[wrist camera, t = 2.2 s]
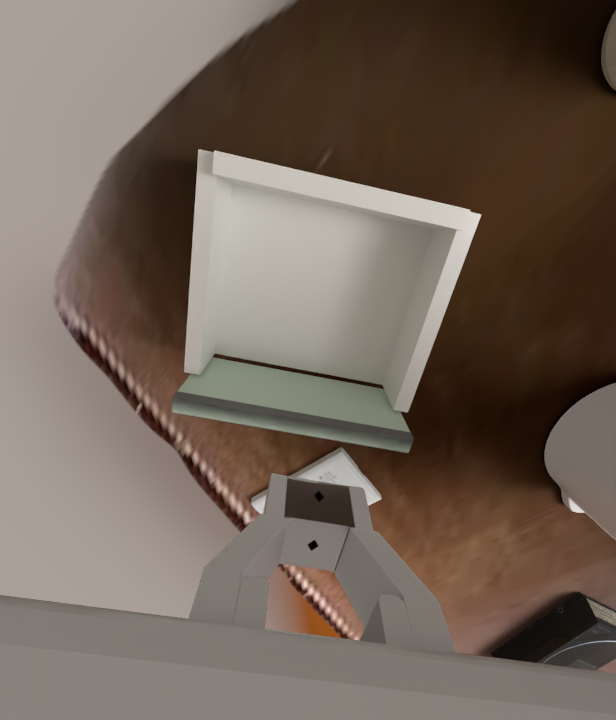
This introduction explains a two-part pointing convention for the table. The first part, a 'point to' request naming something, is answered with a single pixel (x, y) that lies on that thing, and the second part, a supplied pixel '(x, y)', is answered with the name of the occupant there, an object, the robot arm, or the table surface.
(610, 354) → the table surface
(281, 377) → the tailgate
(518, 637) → the portable cd player
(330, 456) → the external hard drive
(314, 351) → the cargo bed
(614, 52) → the cream statue
